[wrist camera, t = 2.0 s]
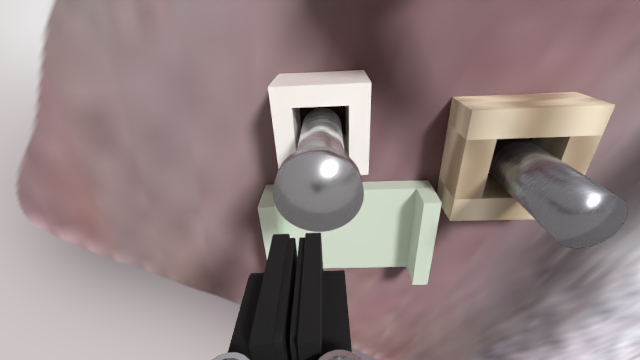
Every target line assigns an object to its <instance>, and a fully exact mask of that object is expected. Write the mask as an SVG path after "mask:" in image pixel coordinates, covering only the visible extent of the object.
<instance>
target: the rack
mask: <svg viewBox="0 0 640 360" xmlns="http://www.w3.org/2000/svg"><path fill="white" fill-rule="evenodd" d="M362 184H363V189H364V199H363V203H362V206H361V208H360V210H359V212H358V214H357V215H356V216H355V217H354V218H353V219H352V220H351V221H350V222H349V223H347V224H346V225H344V226H342V227H340V228H338V229H335V230H331V231H325V232H313V231H307V230H304V229H301V228H298V227H296V226H294V225H292V224H291V223H289V222H288V221H287V220H286V219H285V218H284V217H283V216H282V215H281V214H280V213H279V211H278V209H277V208H276V205H275V203H274V199H273V186H274V185H266V186H265V188H264V191H263V194H262V197H261V199H260V202H259V205H258V213H259V218H260V224H261V229H262V235H263V241H264V246H265V252H266V257H267V259H268V254H269V250H270V245H271V241H272V236H273V234H289V235H290V238H295V239H296V248H297V257H298V247H299V238H300V237H305V234H306V233H321V240H322V257H323V268H362V267H407V269H408V272H409V276H410V279H411V282H412V285H427V283H428V277H429V272H430V266H431V261H432V255H433V249H434V244H435V238H436V233H437V227H438V221H439V216H440V210H441V205H442V202H441V201H440V199H439V197H438V195H437V194H436V192H435V190H434V189H433V187H432V185H431V184H430V182H429V180H412V181H379V182H362Z"/></svg>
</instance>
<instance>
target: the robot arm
mask: <svg viewBox="0 0 640 360" xmlns="http://www.w3.org/2000/svg"><path fill="white" fill-rule="evenodd" d="M213 360H361V358H360V357H358V356H357V355H355V354H354V353H352V351H351V339H350V328H349V317H348V306H347V294H346V283H345V272H344V270H343V271H323V257H322V240H321V233H306V234H305V237H300V238H299V247H298V257H297V248H296V239H295V238H290V235H289V234H273V236H272V241H271V245H270V250H269V254H268V259H267V263H266V268H265V272H264V273H251V274H250V276H249V278H248V282H247V285H246V289H245V293H244V296H243V300H242V303H241V307H240V311H239V314H238V318H237V321H236V325H235V329H234V332H233V336H232V340H231V343H230V347H229V350H228V353H225V354H222V355H219V356H217V357H216V358H214V359H213Z"/></svg>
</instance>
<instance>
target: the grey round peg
mask: <svg viewBox="0 0 640 360" xmlns="http://www.w3.org/2000/svg"><path fill="white" fill-rule="evenodd" d="M489 174H490V175H491V176H492V177H493V178H494V179H495V180H496V181H497V182H498V183H499V184H500V185H501V186H502V187H503V188H504V189H505V190H506V191H507V192H508V193H509V194H510V195H511V196H512V197H513V198H514V199H515V200H516V201H517V202H518V203H519V204H520V205H521V206H522V207H523V208H524V209H525V210H526V211H527V212H528V213H529V214H530V215H531V216H532V217H533V218H534V219H535V220H536V221H537V222H538V223H539V224H540V225H541V226H542V227H543V228H544V229H545V230H546V231H547V232H549V233H550V234H551V235H552V236H553V237H554V238H555V239H556V240H557V241H558V242H559V243H560V244H561V245H563V246H566V247H570V248H584V247H589V246H593V245H596V244H598V243H601V242H603V241H605V240H606V239H608V238H609V237H611V236H612V235H614V234H615V233H616V232H617V231H618V230H619V229H620V228H621V227H622V225H623V224H624V222H625V220H626V218H627V214H628V208H627V205H626V203H625V202H624V201H623V200H622V199H621V198H620V197H618V196H616V195H615V194H613V193H612V192H610V191H609V190H607V189H605V188H604V187H602V186H601V185H599V184H597V183H596V182H594V181H593V180H591V179H590V178H588V177H586V176H585V175H583V174H582V173H580V172H579V171H577V170H575V169H574V168H572V167H571V166H569V165H568V164H566V163H564V162H563V161H561V160H560V159H558V158H557V157H555V156H553V155H552V154H550V153H549V152H547V151H545V150H544V149H542V148H541V147H539V146H538V145H536V144H534V143H533V142H531V141H530V140H528V139H527V138H512V139H497V141H496V145H495V149H494V153H493V157H492V161H491V165H490V169H489Z"/></svg>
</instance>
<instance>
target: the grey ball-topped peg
mask: <svg viewBox="0 0 640 360" xmlns="http://www.w3.org/2000/svg"><path fill="white" fill-rule="evenodd" d="M273 199H274V203H275V205H276V208H277V209H278V211H279V213H280V214H281V215H282V216H283V217H284V218H285V219H286V220H287V221H288V222H289V223H291V224H292V225H294V226H296V227H298V228H301V229H304V230H307V231H313V232H325V231H331V230H335V229H338V228H340V227H342V226H344V225H346V224H347V223H349V222H350V221H351V220H352V219H353V218H354V217H355V216H356V215H357V214H358V212H359V210H360V208H361V206H362V203H363V199H364V189H363V184H362V179H361V174H360V172H359V169H358V167H357V166H356V164H355V163H354V161H353V160H352V159H351V158H350V157H349V156H347V155H346V154H345V152H344V144H343V135H342V126H341V121H340V119H339V117H338V115H337V114H336V113H335V112H333V111H332V110H330V109H327V108H317V109H314V110H312V111H311V112H309V113H308V114H307V115H306V117H305V119H304V121H303V125H302V130H301V134H300V138H299V143H298V147H297V151H296V152H294V153H292V154H291V155H289V156H288V157H287V158H286V159H285V160H284V162H283V163H282V164H281V166H280V168H279V170H278V173H277V176H276V179H275V182H274V186H273Z"/></svg>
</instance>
